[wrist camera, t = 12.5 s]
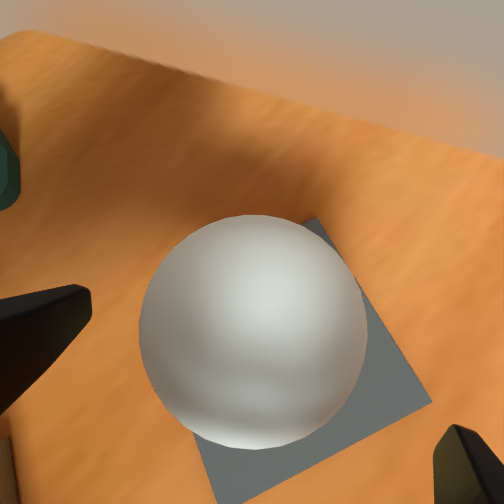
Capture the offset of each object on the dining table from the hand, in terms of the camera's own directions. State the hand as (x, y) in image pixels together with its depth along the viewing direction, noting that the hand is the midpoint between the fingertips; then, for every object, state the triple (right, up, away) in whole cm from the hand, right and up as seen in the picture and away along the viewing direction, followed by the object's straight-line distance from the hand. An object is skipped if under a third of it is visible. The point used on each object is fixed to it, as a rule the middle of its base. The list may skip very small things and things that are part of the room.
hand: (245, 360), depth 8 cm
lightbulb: (+1, -2, +9) cm, 9 cm away
